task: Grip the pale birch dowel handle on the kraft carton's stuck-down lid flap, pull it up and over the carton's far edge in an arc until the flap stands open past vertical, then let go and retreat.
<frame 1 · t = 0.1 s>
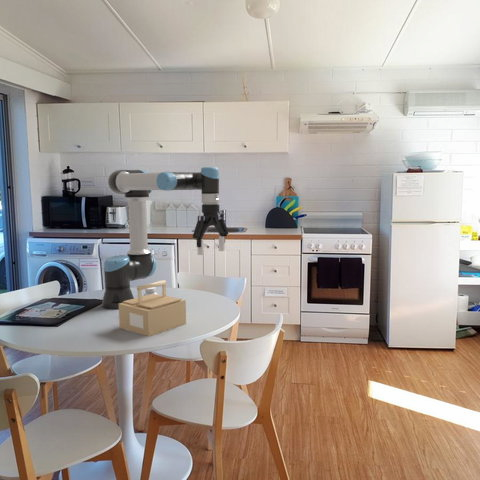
hand: (211, 252, 199), 28 cm above the table, fingers open, 13 cm apart
carton: (153, 325, 189), on the table
flap: (158, 293, 185), point 14 cm above the table, hinge at 0.0°
pill bottle: (151, 313, 208), on the table
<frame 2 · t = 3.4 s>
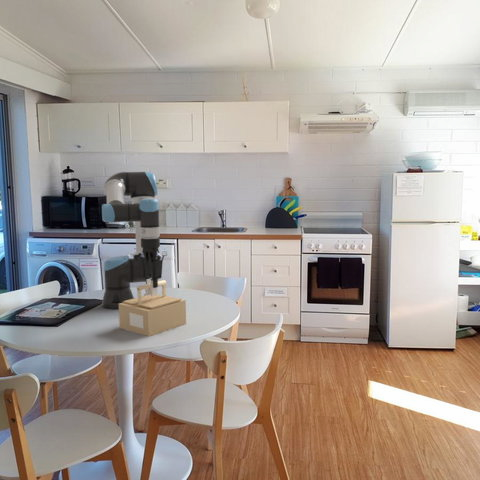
hand: (152, 294, 188), 13 cm above the table, fingers closed on flap, 2 cm apart
flap: (158, 293, 185), point 14 cm above the table, hinge at 0.0°, touching gripper
everything else where it was.
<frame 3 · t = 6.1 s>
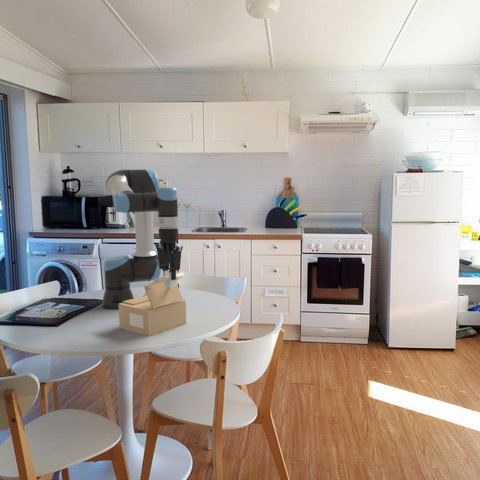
hand: (170, 287, 180), 18 cm above the table, fingers closed on flap, 2 cm apart
flap: (169, 289, 181), point 16 cm above the table, hinge at 61.3°, touching gripper
everything else where it was.
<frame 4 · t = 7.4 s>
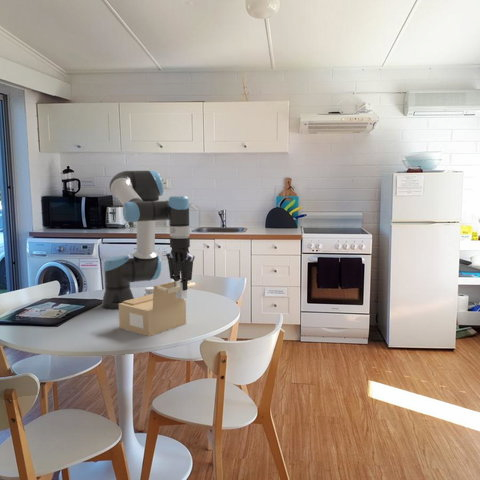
hand: (181, 297, 177), 14 cm above the table, fingers closed on flap, 2 cm apart
flap: (175, 295, 179), point 15 cm above the table, hinge at 96.4°, touching gripper
everything else where it was.
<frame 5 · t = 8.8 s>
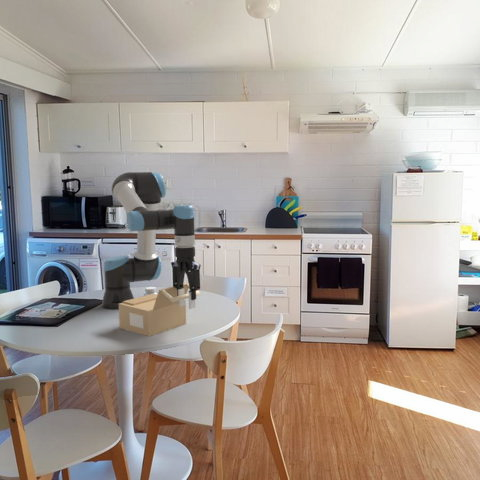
hand: (186, 306, 176), 11 cm above the table, fingers open, 5 cm apart
flap: (177, 300, 179), point 13 cm above the table, hinge at 115.6°, touching gripper
everything else where it was.
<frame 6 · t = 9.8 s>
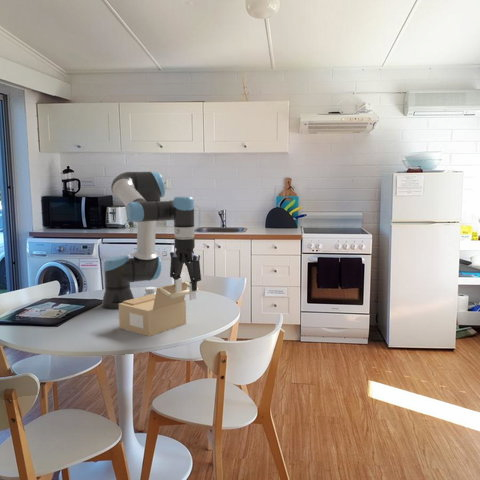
hand: (185, 297, 176), 15 cm above the table, fingers open, 7 cm apart
flap: (177, 298, 179), point 14 cm above the table, hinge at 108.0°
everything else where it was.
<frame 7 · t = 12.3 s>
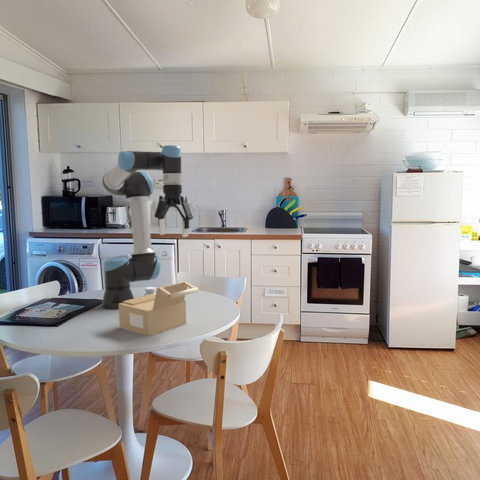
hand: (173, 235, 191), 36 cm above the table, fingers open, 13 cm apart
nothing on the table moved.
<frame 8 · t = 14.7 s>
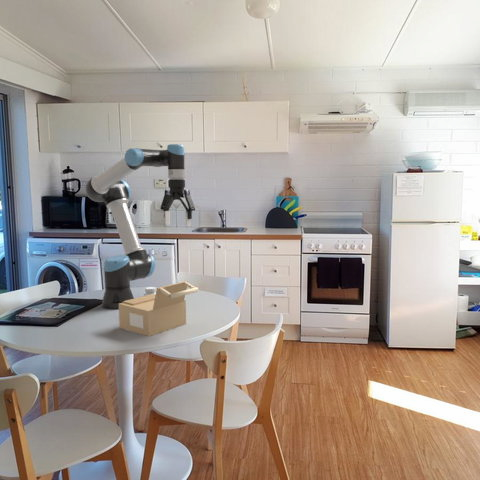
hand: (177, 225, 212), 39 cm above the table, fingers open, 13 cm apart
nothing on the table moved.
at the end: flap at +108° (first picture: +0°); the gripper is holding nothing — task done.
